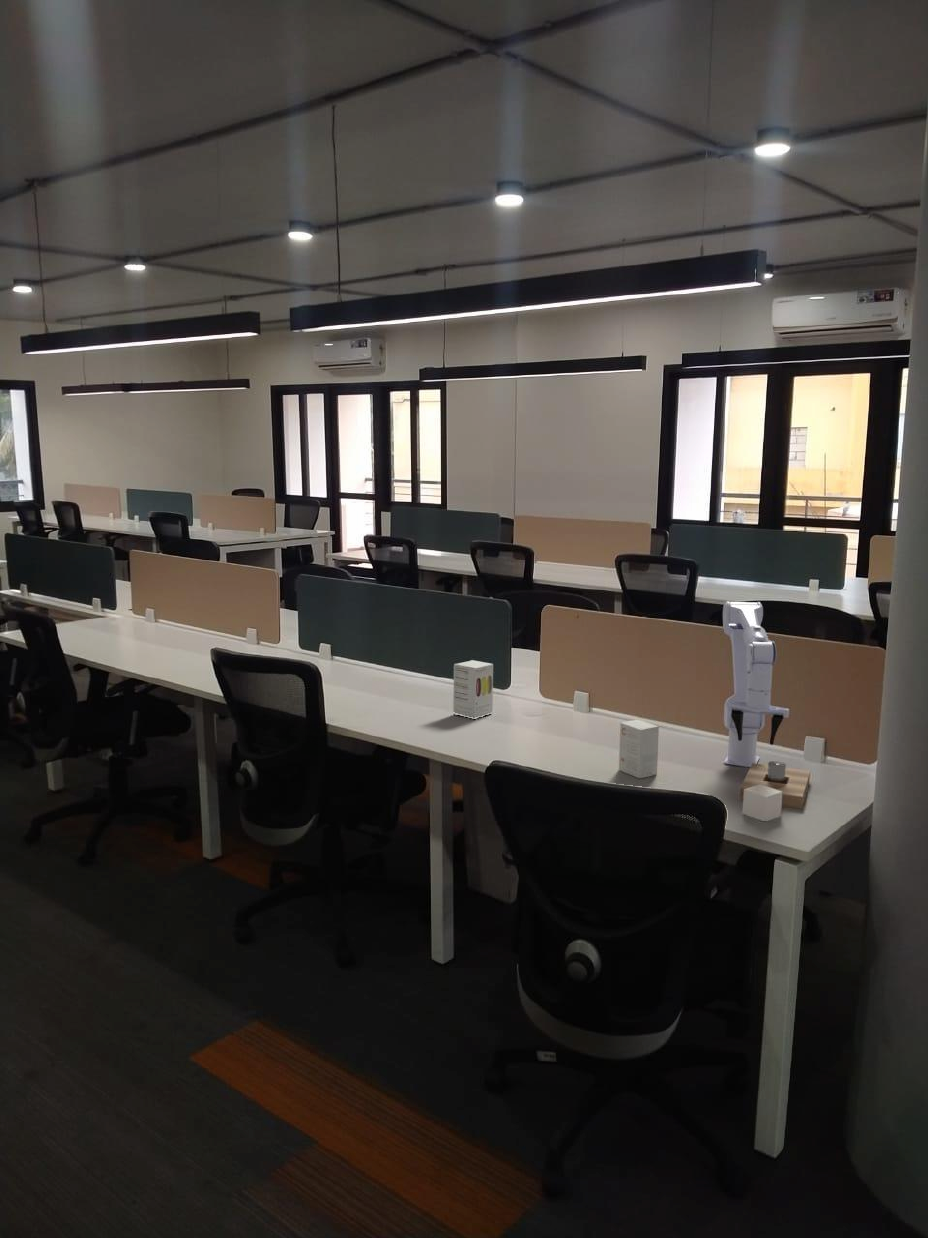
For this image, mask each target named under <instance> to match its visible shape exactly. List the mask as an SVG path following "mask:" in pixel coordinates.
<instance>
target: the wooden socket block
mask: <svg viewBox="0 0 928 1238" xmlns="http://www.w3.org/2000/svg"><path fill="white" fill-rule="evenodd" d="M810 777H811V771H810V770H803V769H796V768H790V767H786V769H785V783H784V784H782V783H775V782H768V781H767V779H768V765H767V764H761V763H757V764H755V763H752V765H751V767H749V770H748V772H747V773H746V776H745V778H744V779H743V782H742V784H741V786H740V791H739V792H740V793H739V800H741V799H743V797H744V789H747V788H750V787H753V786H756V785H759V784H761V785H764V786H767V787H770V788H773V789H776V790H779V791H782V806H781V807H786V808H792V809H799V810H802V809H803V806H804V803H805V800H806V795H807V792H808V789H809V786H810Z"/></svg>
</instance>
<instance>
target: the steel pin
mask: <svg viewBox="0 0 928 1238" xmlns="http://www.w3.org/2000/svg"><path fill="white" fill-rule="evenodd" d="M767 764H768V779H767V781H768V782H775V783H782V784H784V783H785V769H786V768H787V767H786V766H787V765H786V763H785V762H782V761H777V760H770V761H769V762H768V763H767Z"/></svg>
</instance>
